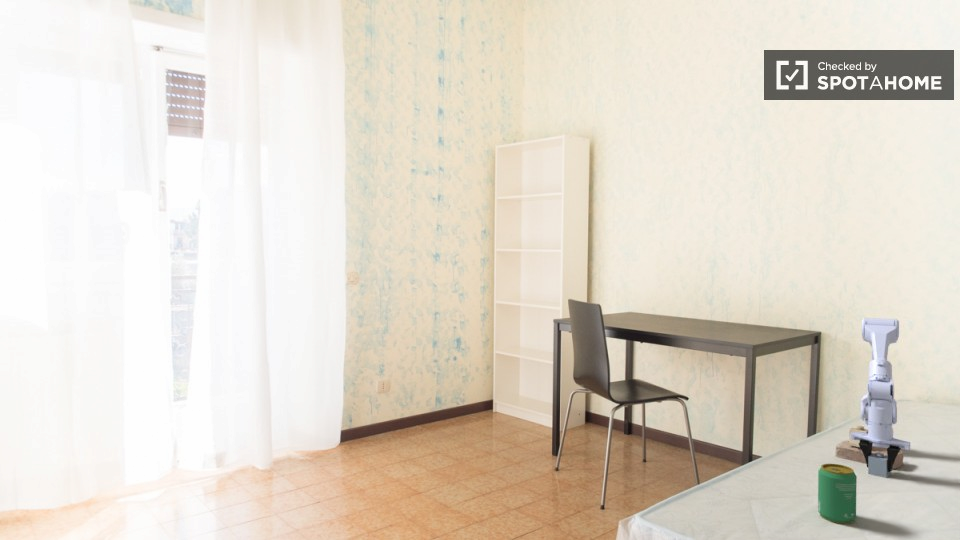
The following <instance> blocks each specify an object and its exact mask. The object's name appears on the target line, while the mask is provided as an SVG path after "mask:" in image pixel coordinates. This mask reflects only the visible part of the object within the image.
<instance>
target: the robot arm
mask: <svg viewBox="0 0 960 540" xmlns="http://www.w3.org/2000/svg"><path fill="white" fill-rule="evenodd" d="M899 336H900V320H898V318H895V319H893V318H873V317H872V318H870V317H863V318H862V320H861V338H862V339H863V341H864V342H867V343H869V345H870V347H871V360H870V361H869V364H868V382H867V383H866V390H867V391H866V394H864V395H862V397H861V402H860V419H861V420H862V421H864V425H865V426H864V428H865V429H868V434H867V433H858V432H852V433H851V439H852V440H860V443H859V447H860V448H861V450H862V452H863V454H864V457H865V460H866V464H865V465H866V467H867V468H868V457H869V456H870V455H871V454H872V446H876V447H882V448H887V455H888V465H887V471H888V472H890V473H891V472H893V469H892V467H893V464H894V461H895V459H896V456H897V455H898V453H899V451H902V449H904V450H906V451H909V450H910V449H911V441H907V440H903V439H898V438H894V428H893V425H896V424H897V422H898V407H897V401H896V399H895V385H894V384H895V383H894V379H893V365H892V363H891V362H890V361H889V360H888V356H889V355H888V353H889V346H890V345H892V344H895V343H897V341H898V340H899Z"/></svg>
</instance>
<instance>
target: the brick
mask: <svg viewBox="0 0 960 540" xmlns="http://www.w3.org/2000/svg"><path fill="white" fill-rule="evenodd" d="M872 453H874V454H875V453H882V454H884V456H888V455H887V448H882V447H876V446H872ZM834 456H835V458H840V459H844V460H848V461H852V462H857V463H861V464H865V465H867V464H866V460H865V457H864V454H863V452H862V450H861V448H860V447H856V446H851V445H849V440H841V442H838V443H837V444H836V445H835V455H834ZM903 461H904V452H903V450H900V451H899V453H898V455H897V456H896V459H895V461H894V464H893V467H892V470H894V469H898V468H899V467H901V466H902V465H903Z"/></svg>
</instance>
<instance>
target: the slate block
mask: <svg viewBox="0 0 960 540" xmlns="http://www.w3.org/2000/svg"><path fill="white" fill-rule="evenodd" d="M887 465H888V456H884V454H882V453H875V454H874V453H872V454H871V455H870V456H869V457H868V467H867V468H868V470H867V471H868V472H867V474H869V475H873V476H878V477H882V478H885V479H886V478H888V477H889V476H890V475H891V472H888V471H887Z"/></svg>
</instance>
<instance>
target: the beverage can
mask: <svg viewBox="0 0 960 540" xmlns="http://www.w3.org/2000/svg"><path fill="white" fill-rule="evenodd" d="M817 477H818V479H817V481H818V484H817V486H818V487H817V511H818V513H819V516H820V517H821V518H822V519H824V520H826V521H828V522H831V523H835V524H840V525H841V524H842V525H848V524H852V523H854V521H855V520H856V518H857V483H858V482H857V481H858V479H857V475H856V473H855V471H854V469H853V468H852V467H849V466H847V465H842V464H838V463H823V464H821V466H820V468H819V469H818V475H817Z"/></svg>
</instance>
